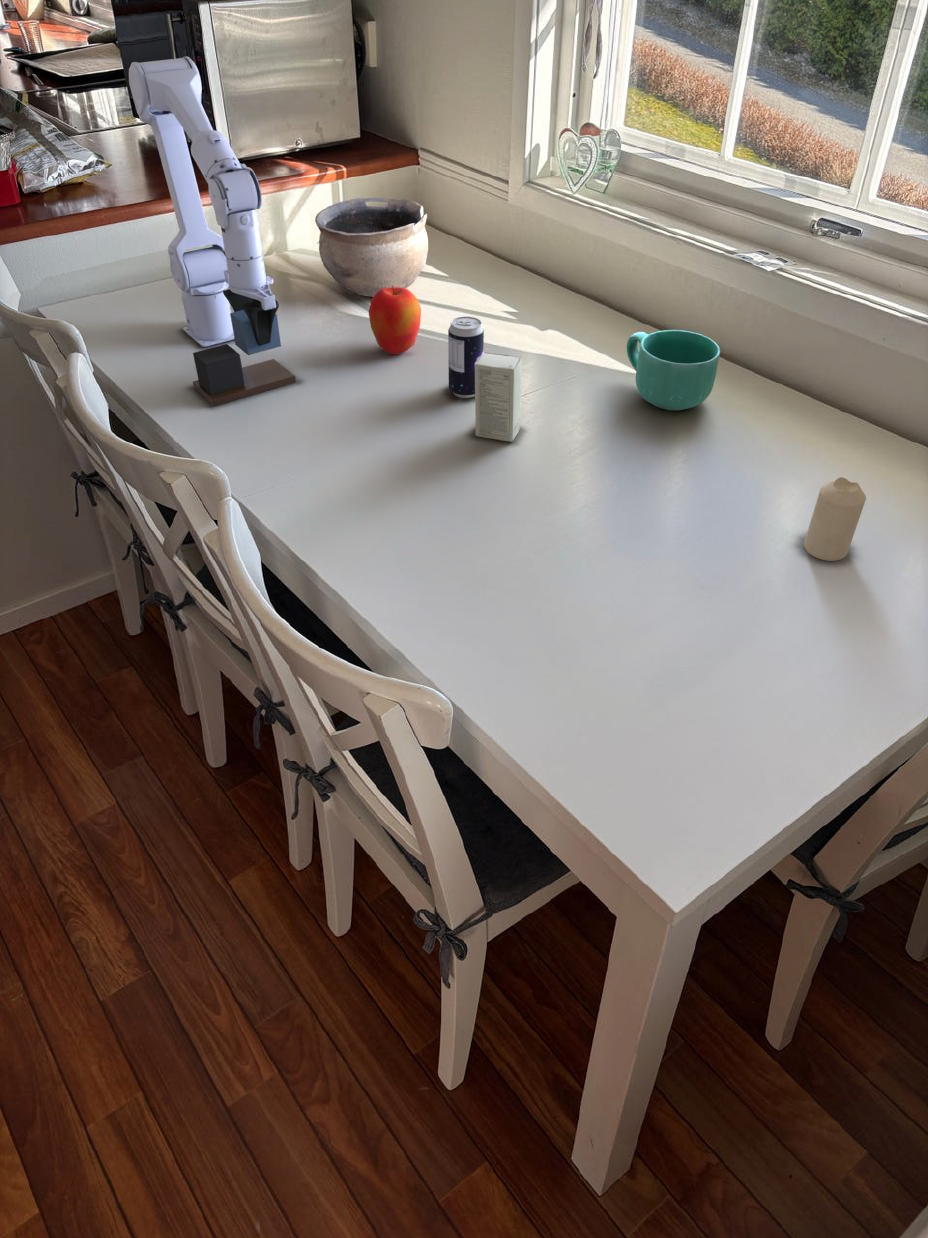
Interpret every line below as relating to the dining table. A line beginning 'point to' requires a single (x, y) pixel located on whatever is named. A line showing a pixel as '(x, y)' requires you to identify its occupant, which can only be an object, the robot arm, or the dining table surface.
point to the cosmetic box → (497, 396)
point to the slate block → (251, 334)
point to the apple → (395, 319)
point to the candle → (834, 519)
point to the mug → (673, 367)
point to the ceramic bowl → (373, 243)
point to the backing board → (252, 382)
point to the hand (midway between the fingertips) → (256, 337)
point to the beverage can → (464, 354)
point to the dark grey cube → (219, 369)
